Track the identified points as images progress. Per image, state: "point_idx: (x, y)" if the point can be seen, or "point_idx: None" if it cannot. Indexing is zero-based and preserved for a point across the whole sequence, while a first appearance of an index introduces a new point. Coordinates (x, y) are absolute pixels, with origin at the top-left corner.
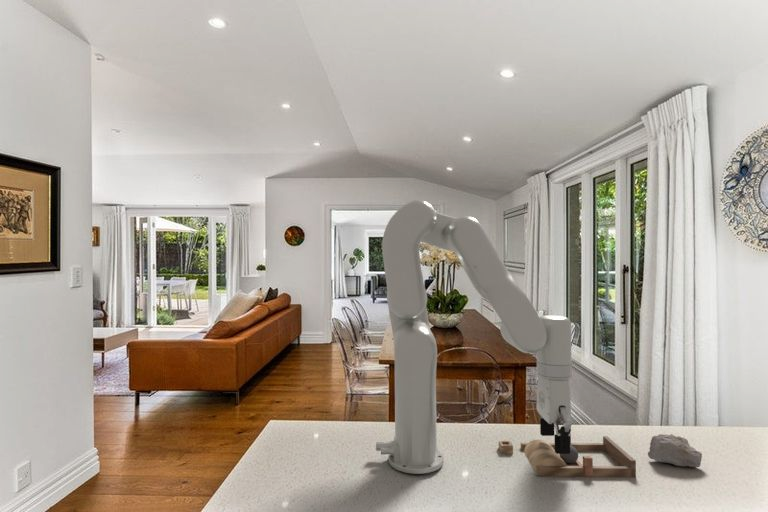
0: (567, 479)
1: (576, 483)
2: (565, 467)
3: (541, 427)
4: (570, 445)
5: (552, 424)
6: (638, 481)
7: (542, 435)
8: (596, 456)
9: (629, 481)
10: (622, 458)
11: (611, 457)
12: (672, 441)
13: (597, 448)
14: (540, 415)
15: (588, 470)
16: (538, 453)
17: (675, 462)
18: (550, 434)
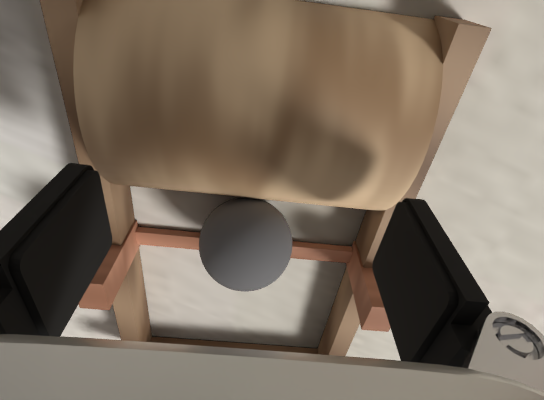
0: (68, 135)
1: (35, 157)
2: (86, 164)
3: (427, 240)
4: (241, 285)
5: (395, 326)
6: (108, 337)
7: (401, 203)
8: (292, 318)
9: (103, 320)
10: None
11: (270, 348)
12: None
13: (324, 346)
14: (528, 332)
15: None
16: (231, 73)
17: None
18: (381, 253)
